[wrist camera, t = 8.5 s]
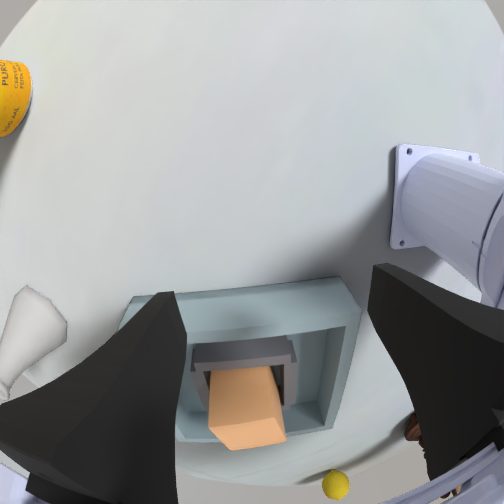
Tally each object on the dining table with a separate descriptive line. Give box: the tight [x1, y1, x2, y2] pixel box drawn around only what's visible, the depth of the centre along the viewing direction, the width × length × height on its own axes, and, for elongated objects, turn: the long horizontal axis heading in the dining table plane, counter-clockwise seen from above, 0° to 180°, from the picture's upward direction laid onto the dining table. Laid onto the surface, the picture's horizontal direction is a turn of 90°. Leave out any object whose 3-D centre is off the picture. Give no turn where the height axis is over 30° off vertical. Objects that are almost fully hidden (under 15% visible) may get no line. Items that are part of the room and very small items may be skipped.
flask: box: [0, 286, 67, 400], centre depth 16 cm, size 7×7×10 cm
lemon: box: [322, 470, 349, 500], centre depth 38 cm, size 6×6×8 cm
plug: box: [208, 366, 287, 451], centre depth 19 cm, size 4×4×7 cm
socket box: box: [116, 276, 362, 443], centre depth 22 cm, size 16×16×4 cm
